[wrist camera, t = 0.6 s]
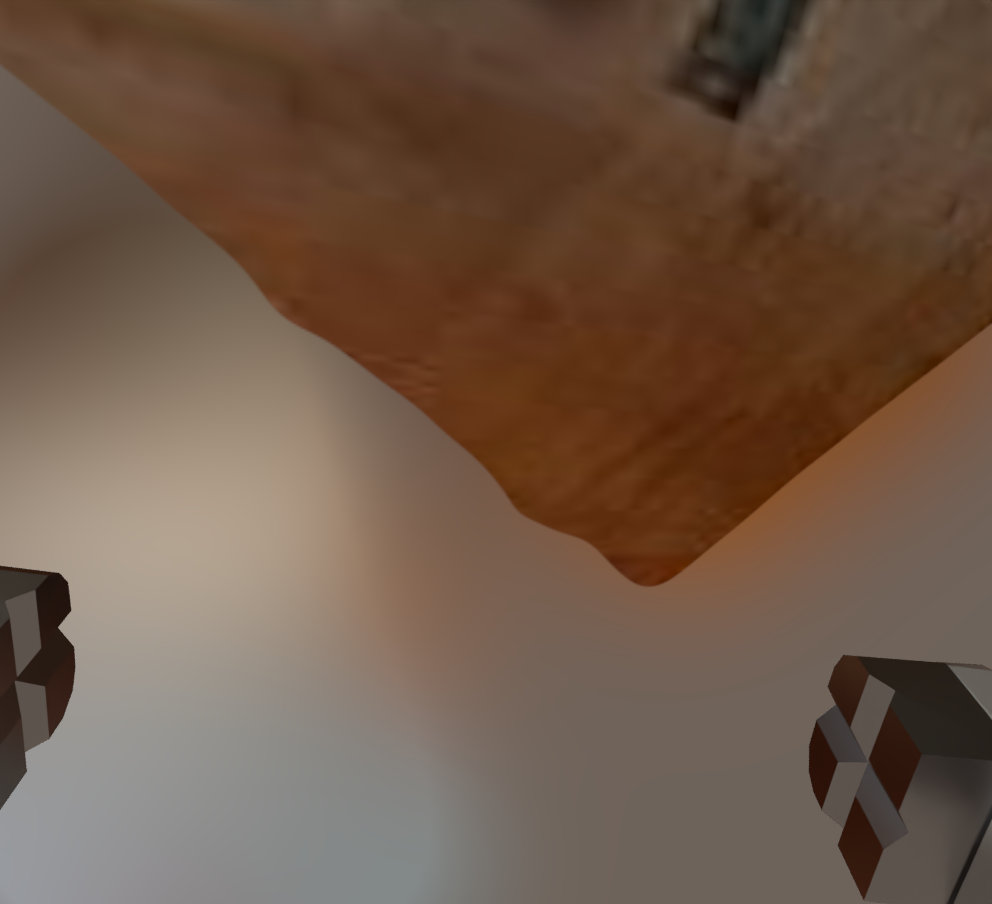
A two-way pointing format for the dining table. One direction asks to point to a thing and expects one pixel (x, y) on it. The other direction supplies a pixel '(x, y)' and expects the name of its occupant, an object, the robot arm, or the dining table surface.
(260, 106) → the dining table surface
